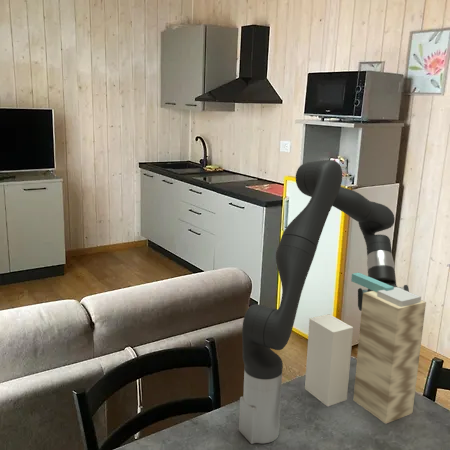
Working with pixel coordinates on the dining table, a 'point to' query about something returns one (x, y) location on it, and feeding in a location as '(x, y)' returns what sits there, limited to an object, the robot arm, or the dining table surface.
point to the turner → (386, 290)
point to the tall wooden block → (388, 357)
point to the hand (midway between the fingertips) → (386, 323)
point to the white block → (328, 359)
